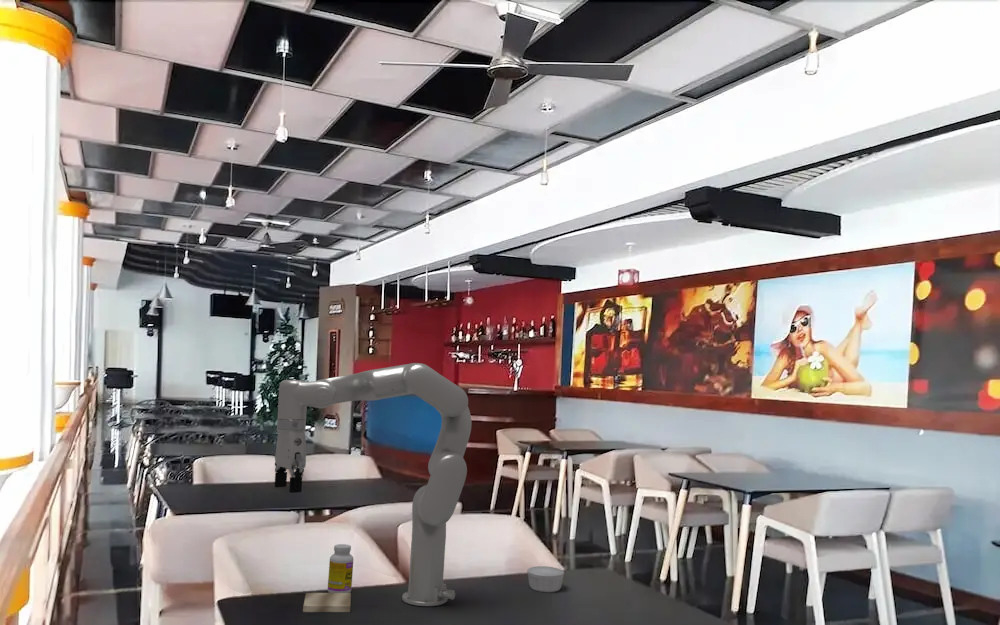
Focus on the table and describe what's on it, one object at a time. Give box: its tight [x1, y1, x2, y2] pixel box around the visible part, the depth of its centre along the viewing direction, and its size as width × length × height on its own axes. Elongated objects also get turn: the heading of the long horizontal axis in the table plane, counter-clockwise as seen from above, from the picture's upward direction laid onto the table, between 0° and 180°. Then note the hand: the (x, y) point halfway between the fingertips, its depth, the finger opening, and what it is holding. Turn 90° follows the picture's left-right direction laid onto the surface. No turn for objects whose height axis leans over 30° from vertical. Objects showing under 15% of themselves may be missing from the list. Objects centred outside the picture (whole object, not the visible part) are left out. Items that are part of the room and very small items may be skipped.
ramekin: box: [526, 565, 565, 593], centre depth 241 cm, size 11×11×5 cm
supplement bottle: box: [327, 543, 354, 593], centre depth 225 cm, size 7×7×13 cm
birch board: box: [302, 592, 352, 613], centre depth 212 cm, size 12×12×2 cm
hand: (287, 489), depth 214 cm, fingers open, 9 cm apart
